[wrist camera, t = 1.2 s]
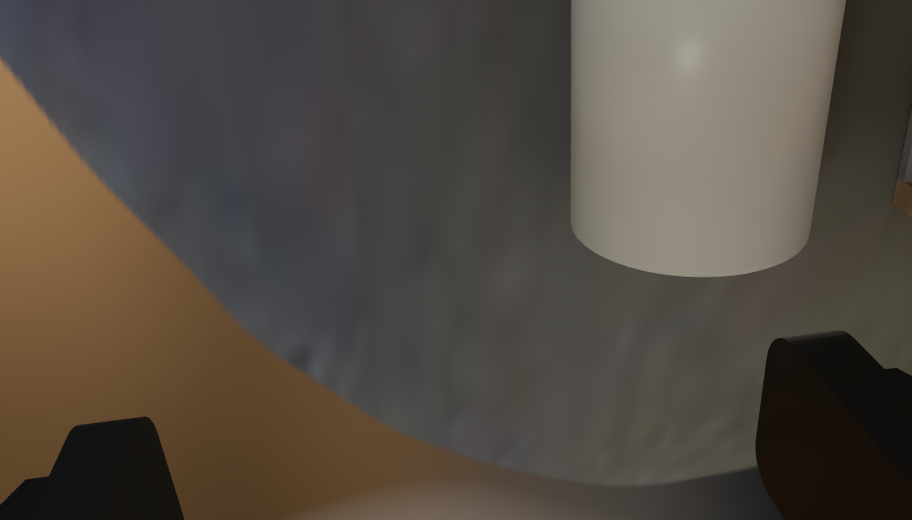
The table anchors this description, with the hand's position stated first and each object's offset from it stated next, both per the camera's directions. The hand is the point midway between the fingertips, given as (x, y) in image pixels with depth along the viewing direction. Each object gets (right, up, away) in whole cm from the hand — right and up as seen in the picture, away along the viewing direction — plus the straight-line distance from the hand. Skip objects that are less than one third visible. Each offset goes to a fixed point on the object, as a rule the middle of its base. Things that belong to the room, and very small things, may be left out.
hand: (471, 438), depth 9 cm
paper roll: (+7, +8, +13) cm, 17 cm away
